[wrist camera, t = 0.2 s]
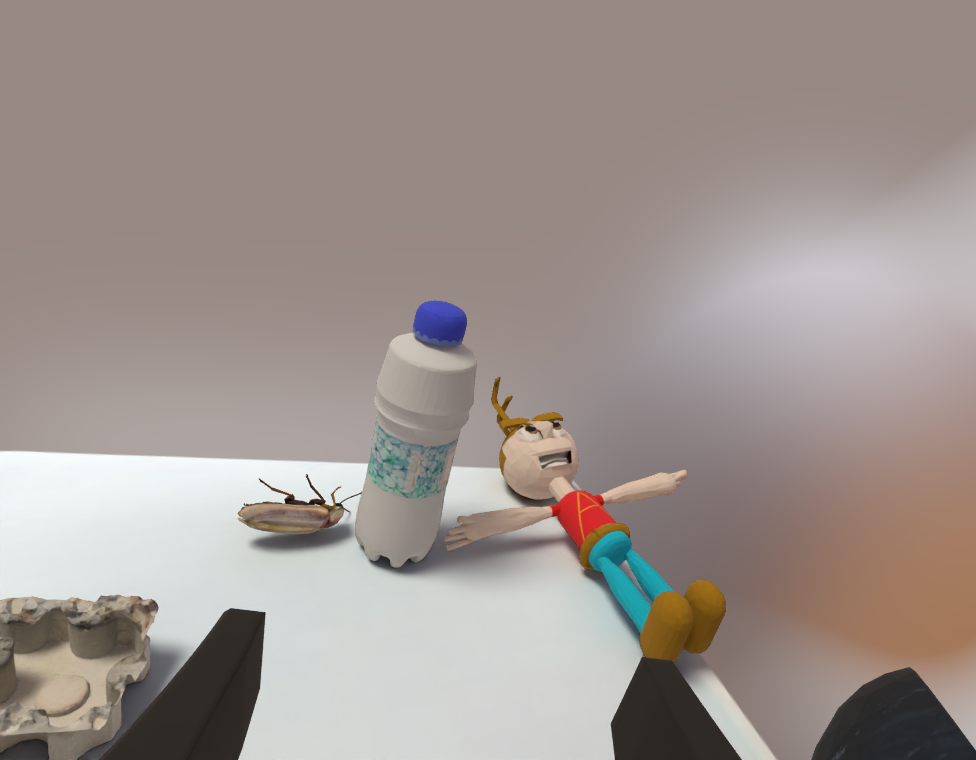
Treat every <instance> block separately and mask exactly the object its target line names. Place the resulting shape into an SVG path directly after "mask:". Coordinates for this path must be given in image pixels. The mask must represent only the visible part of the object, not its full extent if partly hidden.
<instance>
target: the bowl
mask: <svg viewBox="0 0 976 760" xmlns="http://www.w3.org/2000/svg"><path fill="white" fill-rule="evenodd" d="M812 760H976V750H975V749H974V747H973V746H972V745H971V743H970V742H969V741H968V739H967V738H966V737H965V735H964V734H963V733H962V731H961V730H960V728H959V727H958V726H957V725H956V723H955V722H954V720H953V719H952V718H951V717H950V715H949V714H948V712H947V711H946V710H945V708H944V707H943V706H942V705H941V703H940V702H939V701H938V699H937V698H936V697H935V695H934V694H933V693H932V691H931V690H930V689H929V687H928V686H927V685H926V684H925V683H924V682H923V680H922V679H921V678H920V677H919V676H918V674H917V673H916V672H915V671H914V670H913V669H911V668H910V667H908V668H904V669H901V670H897V671H894V672H890V673H886V674H884V675H882V676H880V677H878V678H876V679H874V680H872V681H870V682H868V683H866V684H865V685H863V686H862V687H860V688H859V689H858V690H857V691H856V692H855V693H854V694H853V695H852V696H851V697H850V698H849V699H848V700H847V701H846V702H845V703H843V704H842V705H841V706H840V707H839V708H838V710H837V712H836V713H835V715H834V717H833V718H832V720H831V722H830V724H829V725H828V727H827V729H826V730H825V732H824V734H823V736H822V737H821V739H820V741H819V742H818V744H817V746H816V748H815V751H814V754H813V757H812Z"/></svg>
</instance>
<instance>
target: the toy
mask: <svg viewBox="0 0 976 760" xmlns="http://www.w3.org/2000/svg"><path fill="white" fill-rule="evenodd" d="M499 382H500V377H498V378H497V379H495V383H494V387H493V393H492V398H491V400H492V404H493V406H494V408H495V409H496V410H497V412H498V415H497V422H498V424H499V426H500V428H501V429H502V430H503V432H504V433H505V435H506V436H507V437H506V438H505V440H504V442H503V444H502V447H501V450H500V457H499V460H500V468H501V472H502V475H503V477H504V479H505V480H506V482H507V483H508V485H509V486H510V487H511V488H512V489H513V490H514V491H515V492H517V493H518V494H520V495H523V496H525V497H528V498H531V499H537V500H541V499H549V498H552V497H555V498H556V500H557V501H558V502H559V504H558V505H552V506H546V507H523V508H511V509H505V510H498V511H491V512H485V513H478V514H473V515H470V516H469V517H467V516H459V517H458V518H457V521H458V523H462V524H461V527H456V528H451V529H449V531H448V533H449V534H450V535H447V536H445V537H444V540H445V541H446V542H448V541H453V540H458V539H462V538H466V539H463V540H460V541H458V542H455V543H452V544H450V545H447V546H446V550H447V551H451V550H454V549H456V548H459V547H462V546H464V545H467V544H470V543H472V542H474V541H476V540H479V539H482V538H485V537H489V536H492V535H496V534H500V533H505V532H509V531H514V530H518V529H521V528H523V527H526V526H529V525H532V524H535V523H537V522H539V521H541V520H544V519H547V518H550V517H554V516H557V517H558V520H559V522H560V524H561V525H562V526H563V528H564V529H565V530H566V532H567V533H568V534H569V536H570V537H571V538H572V539H573V541H574V542H575V543H576V545H577V546H578V547H579V549H580V554H579V555H580V558H579V560H580V563H581V565H582V566H583V567H584V568H587V569H594V570H596V571H599V572H603V574H604V576H605V578H606V581H607V583H608V585H609V587H610V589H611V591H612V593H613V594H614V596H615V597H616V599H617V600H618V601H619V603H620V604H621V606H622V607H623V608H624V610H625V611H626V613H627V614H628V615H629V617H630V618H631V620H632V621H633V622H634V624H635V625H636V627H637V629H638V630H639V632H640V645H641V649H642V651H643V653H644V655H645V656H646V658H655V659H663V660H671V661H672V662H673V663H674V662H676V660H677V658H678V656H679V654H680V652H681V650H682V648H683V649H684V650H686V651H688V652H690V653H702V652H704V651H705V650H706V649H707V648H708V647H709V646H710V644H711V642H712V639H713V637H714V635H715V633H716V631H717V629H718V627H719V625H720V623H721V621H722V619H723V617H724V615H725V612H726V601H725V598H724V595H723V594H722V592H721V591H720V589H719V588H718V587H717V586H716V585H714V584H713V583H712V582H709V581H706V580H699V581H695V582H693V583H692V584H691V585H690V586H689V587H688V589H687V591H686V593H685V596H684V597H683V596H682V595H680V594H679V593H677V592H674V591H673V590H672V589H671V588H670V587H669V586H668V584H667V583H666V582H665V581H664V580H663V578H662V577H661V576H660V575H659V574H658V573H657V572H656V571H655V570H654V569H653V568H652V567H651V566H650V565H649V564H648V563H647V562H646V561H645V560H644V559H642V558H641V557H640V556H639V555H637V554H636V552H635V551H634V550H633V549H632V548H631V546H632V543H631V540H630V534H629V533H630V531H629V529H628V527H627V526H626V525H624V524H618V523H616V522H615V521H614V519H613V518H612V517H611V516H610V515H609V514H608V512H607V511H606V510H605V509H604V508H603V507H602V506H601V505H605V504H616V503H627V502H634V501H639V500H642V499H646V498H650V497H654V496H661V495H669V494H670V493H672V492H673V491H674V490H675V488H676V486H680V482H679V481H681V480H684V479H686V478H687V475H686V474H687V472H686V470H682V471H679V472H676V473H672V474H666V473H658V474H656V475H653V476H650V477H647V478H644V479H640V480H638V481H634V482H629V483H627V484H624V485H622V486H619V487H617V488H615V489H612V490H610V491H607V492H606V493H603V494H600V495H596V496H592V495H591V494H590V493H587V492H585V491H575V490H574V489H573V488H572V486H571V485H570V484H571V482H572V481H573V480H574V478H575V475H576V472H577V467H578V461H579V458H578V452H577V449H576V445H575V443H574V442H573V439H572V438H571V436H570V435H569V434H568V433H567V432H566V431H565V430H564V429H563V428H561V425H560V424H559V423H558V422H556V421H555V420H560V421H563V417H562V416H561V415H560V414H559V413H555V412H552V413H547V414H542V415H538V416H536V417H534V418H533V419H532V421H529V420H528V419H524V418H515V419H509V418H508V416H507V415H506V414H505V410H506V408H507V406H508V404H509V402H510V401H511V399H512V397H513V396H509V397H507V398H506V400H505V402H504V404H503V406H502V407H500V406H499V404H498V401H497V393H498V387H499ZM550 421H551V422H550ZM507 428H509V429H510V431H511V432H510V431H509V430H508V429H507ZM625 560H626V561H627V562H628V564H629V566H630V568H631V570H632V572H633V574H634V576H635V577H636V579H637V581H638V582H639V584H640V586H641V587H642V589H643V591H644V592H645V594H646V595H647V596H648V598H649V599H650V600H651V602H652V603H653V604H652V606H651V605H650V603H649V602H648V601H647V600H646V599H645V597H644V596H643V595H642V593H641V592H640V591H639V590H638V588H637V587H636V586H635V584H634V583H633V582H632V581H631V580H630V578H629V577H628V576H627V575H626V574H625V573H624V572H623V570H621V569H620V568H619V567H618V566H619V565H620V564H622V563H623V562H624V561H625Z"/></svg>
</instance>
